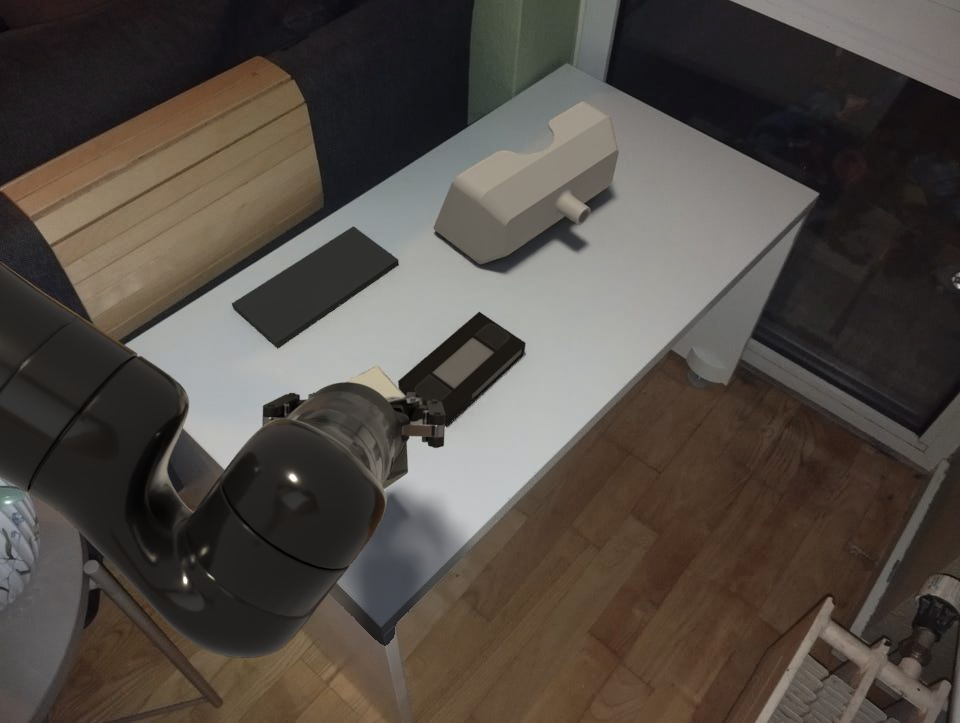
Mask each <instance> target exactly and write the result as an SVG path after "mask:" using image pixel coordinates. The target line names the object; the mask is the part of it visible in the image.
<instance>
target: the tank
mask: <svg viewBox="0 0 960 723" xmlns="http://www.w3.org/2000/svg"><path fill="white" fill-rule="evenodd" d="M547 128H548V130H549V131H550V132H551V133H552V137H553V139H552V140H553V141H552V143H551V144H550V145H549V146H548V147H547V148H545V149H543V150H541V151H539V152H534V153H519V152H514V151H512V150H507V149H504V150H502V149H501V150H498V151H496V152H494V153H492V154H491V155H489V156H487V157H486V158H483V159H482V160H481V161H478V162H477V163H475V164H474V165H472V166H470V167H468V168H467V169H465V170H464V171H462V172H460V173H459V174H458V175H457V176H456V177H455V178H454V179H453V181H452V182H451V184H450V186H449V189H448V191H447V194H446V196H445V198H444V200H443V203H442V206H441V208H440V210H439V213H438V216H437V218H436V220H435V222H434V225H433V228H432V229H433V231H435V232H436V233H437V234H439V235H440V236H442V237H443V238H445V239H446V240H447V241H449V243H451V244H452V245H454V246H455V247H456V248H457V249H459V250H460V251H461V252H463V253H464V254H465V255H467V256H468V257H469V258H470V259H472V261H474V262H476V263H477V264H478V265H484V264H487V263H490V262H493V261H496V260H499V259H502V258H504V257H507V256H509V255H511V254H512V253H513V252H515V251H516V250H518V249H519V248H521V247H523V246H524V245H525V244H527V243H529V241H531V240H532V239H534V238H536V237H537V236H538V235H540V234H541V233H543V232H544V231H546V230H547V229H548V228H550V227H552V226H553V225H555V224H556V223H557V222H559V221H560V220H562V219H564V218H566V219H569V220H570V221H571V222H573V223H575V224H576V225H579V226H581V225H583V224H584V223H585V222H587V220H588V218H589V217H590V215H591V212H592V210H591V207H589V206H588V205H586V204H585V203H587V202H588V201H590V200H591V199H592V198H595V197H596V196H597V195H599V194H600V193H601V192H602V191H604V190H605V189H607V188H608V187H610V186H611V184H612V182H613V181H614V176H615V172H616V167H617V162H618V158H619V153H620V152H619V148H618V142H617V138H616V133H615V130H614V123H613V119H612V117H611V116H609V115H608V114H606V113H604V112H603V111H601V110H599V109H598V108H596V107H594V106H592V105H590V104H589V103H588V102H585V101H584V100H582V101H580V102H578V103H577V104H575V105H572V106H571V107H570V108H567V109H566V110H565V111H563V112H561V113H560V114H558V115H556V116H554V117H552V119H550V120H549V122H548V124H547Z"/></svg>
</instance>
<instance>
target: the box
mask: <svg viewBox="0 0 960 723" xmlns="http://www.w3.org/2000/svg"><path fill="white" fill-rule="evenodd" d="M346 382H352V383H359V384H362V385H365V386H368V387H370V388H372V389H374V390H376V391H377V392H379V393H380V394H381V395H382V396H383V397H385V398H386V397H391V396H394V397H401V398H405V396H406V395H404V394H403V393H402V392H401V391H400V390H399V386H397V385H396V384H395V382H394V381H393V379H391V378H390V377H389V376H388V374H387V373H386V372H385V371H384V370H383V369H382V367H381V366H379V365H374V366H372V367H370V368H368V369H367V370H364V371H363V372H361V373H359V374H357V375H355V376H353V377H351V378H350V379H349V380H346ZM408 460H409V459H408V441H407V442H406V443H404V444H400V445H399V449H398V451H397V454H396V456H395V459H394V465H393V468H392V471H391V473H390V474H389V476H387V479H386V481H385V483H384V484H383V488H384V490H385V489H386V488H388V487H389V486H391V485H392V484H394V483H396V482H397V481H399V480H400V479H401V478H403V477H404V476H406V475H407V474H408V473H409V464H408V462H409V461H408Z"/></svg>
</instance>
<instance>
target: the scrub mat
mask: <svg viewBox="0 0 960 723" xmlns="http://www.w3.org/2000/svg"><path fill="white" fill-rule="evenodd" d="M399 263H400V262H399V259H398V258H397V257H395V256H394V255H393V254H392V253H391V252H389V251H387V249H385V248H383V247H382V246H381V245H379V244H378V243H377V242H376V241H374V240H373V239H372V238H370V237H369V236H368V235H366V234H365V233H364V232H362V231H361V230H360V229H358V228H357V227H356V226H351V227H350V228H348V229H346V230H345V231H344V232H342V233H340V234H339V235H337V236H336V237H334V238H332V239H331V240H329V241H328V242H326V243H325V244H323V245H321V246H320V247H318V248H317V249H315V250H314V251H312V252H310V253H308V254H306V256H304V257H302V258H300V259H299V260H298V261H296V262H295V263H293V264H292V265H290V266H289V267H287V268H285V269H284V270H282V271H281V272H279V273H277V274H276V275H274V276H273V277H270V278H269V279H268V280H266V281H265V282H263V283H262V284H260V285H258V286H257V287H255V288H253V289H252V290H251V291H249V292H247V293H246V294H244V295H243V296H241V297H240V298H238V299H236V300H235V301H233V302H231V306H232V309H233V310H234V311H235V312H236V313H237V314H239V316H241V317H242V318H243V319H244V320H245V321H246V322H247V323H249V324H250V325H251V326H252V327H253V328H254V329H255V330H257V331H258V333H260V334H261V335H262V336H263V337H264V338H265V339H267V341H269V342H270V343H271V344H272V345H273V346H274V347H275V348H277V349H279V348H280V347H282V346H283V345H285V344H287V343H288V342H289V341H290V340H292V339H293V338H295V337H296V336H298V335H299V334H301V333H302V332H303V331H305V330H306V329H308V328H309V327H311V326H312V325H314V324H315V323H316V322H318V321H320V320H321V319H323V318H324V317H325V316H327V315H328V314H330V313H331V312H332V311H334V310H335V309H337V308H338V307H340V306H342V305H343V304H344V303H345V302H347V301H349V299H351V298H353V297H354V296H356V295H358V293H360V292H361V291H363V290H364V289H366V288H367V287H369V286H370V285H371V284H373V283H374V282H376V281H377V280H379V279H380V278H382V277H383V276H385V275H386V274H387V273H389V272H390V271H392V270H393V269H394V268H396V267H398V266H399V265H400V264H399Z"/></svg>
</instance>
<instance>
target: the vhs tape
mask: <svg viewBox="0 0 960 723" xmlns="http://www.w3.org/2000/svg"><path fill="white" fill-rule="evenodd" d="M525 351H526V342H525V341H523V339H520V338H519V337H518V336H516V335H515V334H513V333H512V332H510V331H508V329H506V328H504V327H503V326H501V325H500V324H499V323H497V322H496V321H494V320H493V319H491V318H490V317H488V316H486V315H485V314H484V313H482V312H481V311H478V312H477V313H476V314H474V315H473V316H472V317H470V318H469V320H467V321H466V322H465V323H464V324H463V325H461V326H460V327H459V328H458V329H457V330H456V331H455V332H453V333H452V334H451V335H450V336H449V337H447V338H446V339H445V340H444V341H442V343H441V344H439V345H438V346H437V347H436V348H435V349H434V350H432V351H431V352H430V353H428V355H426V356H425V357H424V358H423V359H422V360H420V362H418V363H417V364H416V365H414V366H413V368H411V369H410V370H409V371H408V372H407V373H405V374H404V375H403V376H402V377H401V378H399V379H398V380H397V385H398V386H397V387H398V388H399V390H400V391H401V392H402V393H403V394H404V396H406V394H407V392H415V393H416V397H420V398H422V399H423V404H422V405H425V406H427V401H431V400H438V401H440V402H442V405H443V408H444V411H445V427H448V426H449V425H450V424H451V423H452V422H453V421H454V420H455V419H457V417H458V416H460V415H461V414H462V413H463V412H464V411H465V410H466V409H467V408H468V407H469V406H471V404H473V402H475V401H476V400H477V399H478V398H479V397H480V396H481V395H482V394H483V393H484V392H485V391H486V390H488V389H489V388H490V387H491V386H492V385H493V384H494V383H495V382H496V381H497V380H498V379H499V378H500V377H501V376H503V374H505V372H507V371H508V370H509V369H510V368H511V367H512V366H513V365H514V364H516V362H517V361H519V360H520V359H521V358H522V357H523V356H524V355H525V353H526V352H525Z"/></svg>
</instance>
